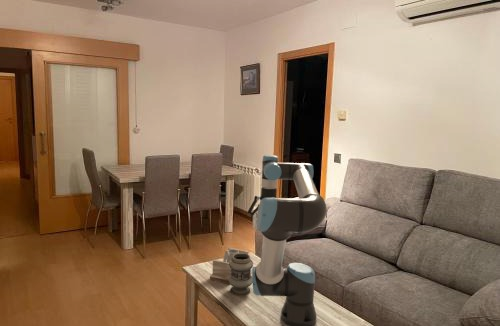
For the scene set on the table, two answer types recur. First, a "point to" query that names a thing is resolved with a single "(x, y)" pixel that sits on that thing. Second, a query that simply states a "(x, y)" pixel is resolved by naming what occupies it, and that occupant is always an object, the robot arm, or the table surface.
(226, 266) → the shelf
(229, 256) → the mug
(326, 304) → the table surface
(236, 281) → the apothecary jar
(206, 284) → the table surface
